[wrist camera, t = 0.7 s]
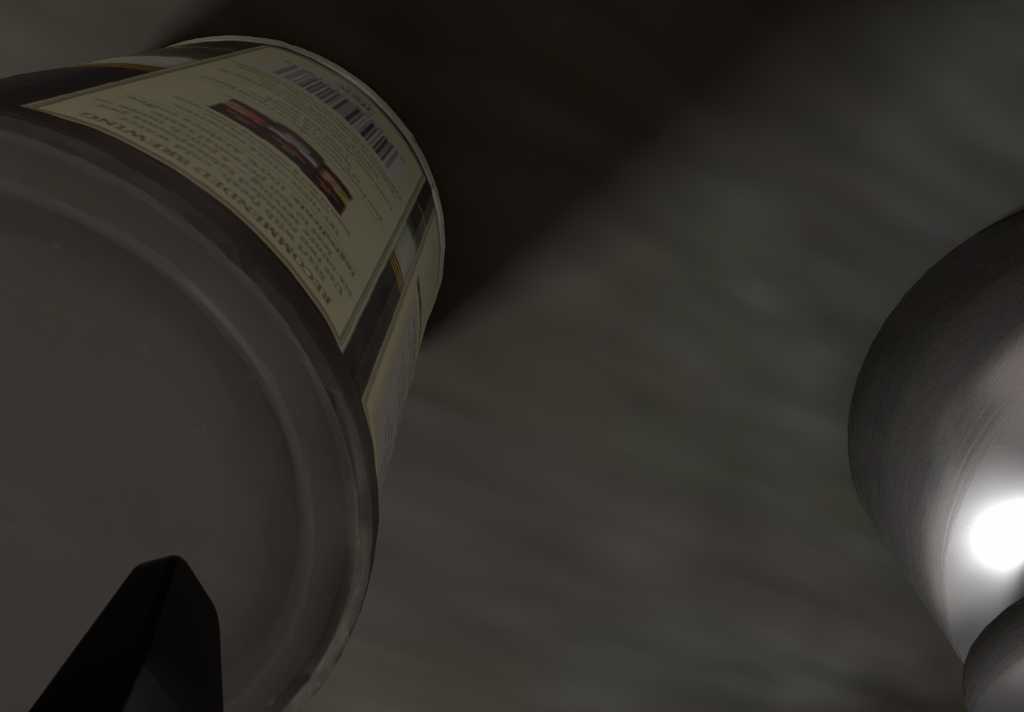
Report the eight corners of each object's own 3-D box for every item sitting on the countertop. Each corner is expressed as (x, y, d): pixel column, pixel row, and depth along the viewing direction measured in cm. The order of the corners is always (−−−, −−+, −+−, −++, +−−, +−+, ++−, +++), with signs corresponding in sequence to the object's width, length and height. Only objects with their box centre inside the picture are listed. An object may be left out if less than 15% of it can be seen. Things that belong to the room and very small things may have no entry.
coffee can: (41, 365, 27) (-425, 732, 14) (81, -17, 23) (-500, -23, 10) (401, 454, 28) (292, 878, 14) (493, 99, 24) (459, 235, 11)
